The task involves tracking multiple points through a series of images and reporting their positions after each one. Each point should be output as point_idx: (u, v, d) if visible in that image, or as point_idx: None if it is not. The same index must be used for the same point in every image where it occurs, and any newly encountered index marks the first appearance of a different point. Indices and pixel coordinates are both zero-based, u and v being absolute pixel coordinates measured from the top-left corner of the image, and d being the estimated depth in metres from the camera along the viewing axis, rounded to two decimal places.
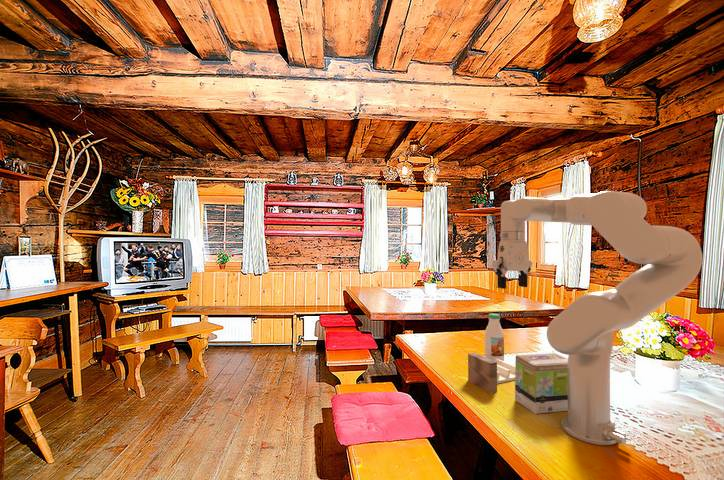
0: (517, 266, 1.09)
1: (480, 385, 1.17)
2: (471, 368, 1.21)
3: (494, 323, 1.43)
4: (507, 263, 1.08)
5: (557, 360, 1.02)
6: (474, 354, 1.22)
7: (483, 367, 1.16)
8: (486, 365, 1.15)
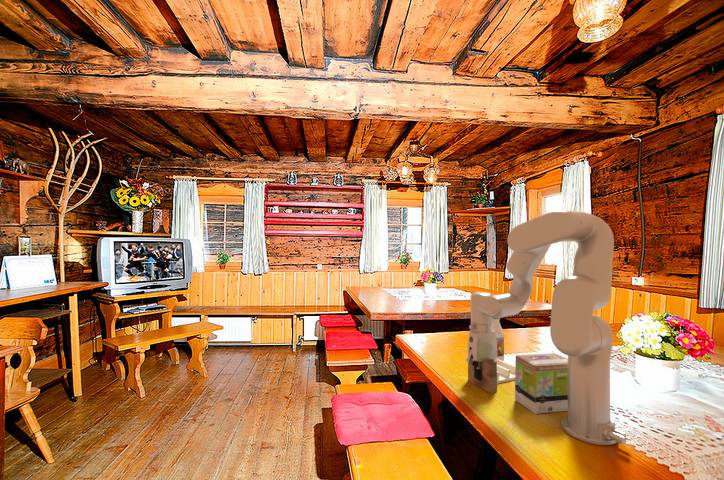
0: (485, 357, 1.15)
1: (480, 385, 1.17)
2: (470, 368, 1.21)
3: (494, 323, 1.43)
4: (475, 355, 1.14)
5: (557, 360, 1.02)
6: None
7: (483, 366, 1.16)
8: (485, 364, 1.15)
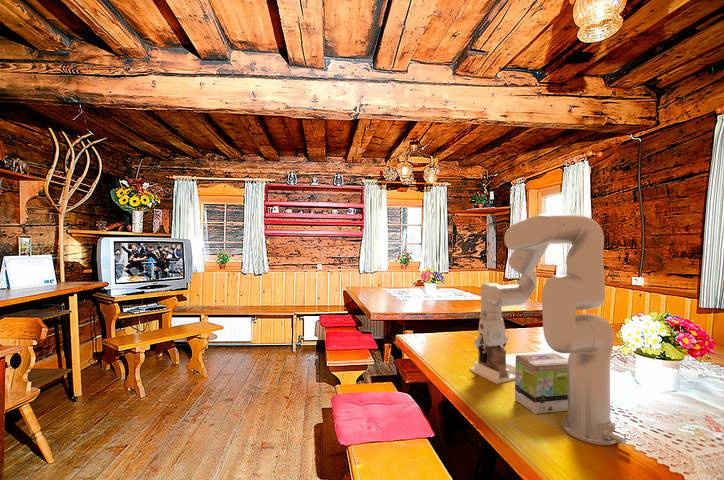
0: (495, 342, 1.25)
1: None
2: None
3: None
4: (486, 340, 1.24)
5: (557, 360, 1.02)
6: None
7: (493, 354, 1.25)
8: (495, 352, 1.24)
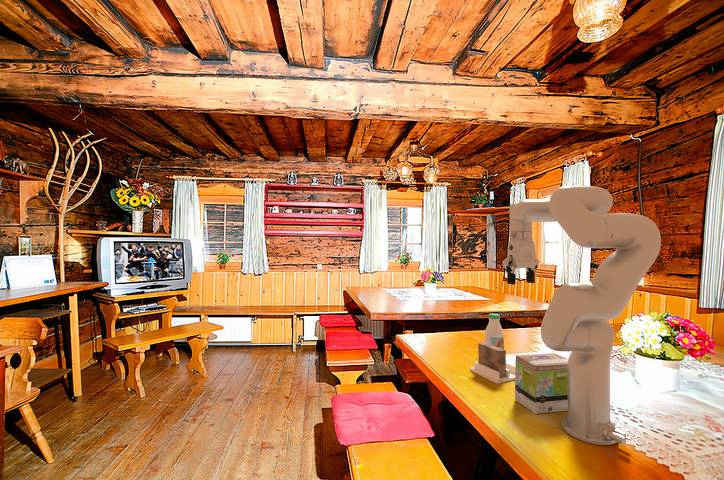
0: (525, 263, 1.18)
1: None
2: (481, 356, 1.31)
3: (494, 323, 1.43)
4: (516, 261, 1.17)
5: (557, 360, 1.02)
6: (483, 343, 1.31)
7: (493, 354, 1.25)
8: (495, 352, 1.24)
